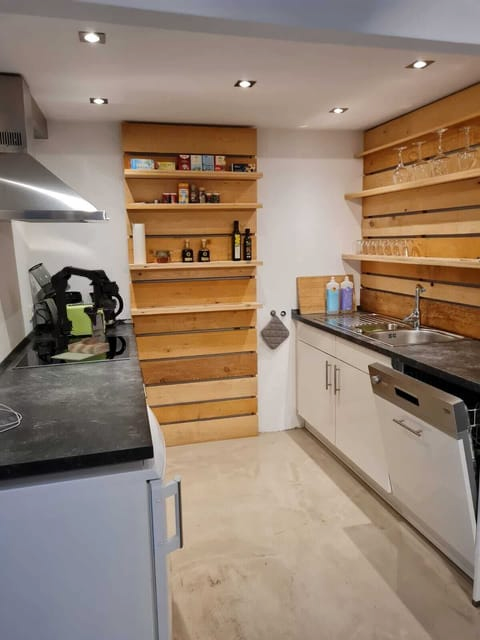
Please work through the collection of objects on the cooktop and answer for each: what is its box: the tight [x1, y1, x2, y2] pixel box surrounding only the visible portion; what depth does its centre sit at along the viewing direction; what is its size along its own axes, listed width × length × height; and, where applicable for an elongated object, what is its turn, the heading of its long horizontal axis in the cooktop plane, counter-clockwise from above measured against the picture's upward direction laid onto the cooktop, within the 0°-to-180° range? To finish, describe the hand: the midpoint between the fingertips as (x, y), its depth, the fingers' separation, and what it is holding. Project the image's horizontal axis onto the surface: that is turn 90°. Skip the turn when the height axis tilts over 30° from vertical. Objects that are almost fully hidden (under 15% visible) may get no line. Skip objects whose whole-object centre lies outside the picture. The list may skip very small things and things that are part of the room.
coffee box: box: [90, 311, 106, 343], centre depth 277 cm, size 9×6×16 cm
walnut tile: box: [81, 337, 100, 345], centre depth 250 cm, size 7×5×2 cm
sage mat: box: [50, 351, 96, 361], centre depth 239 cm, size 18×11×1 cm, turn 66°
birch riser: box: [67, 340, 110, 356], centre depth 249 cm, size 18×10×4 cm, turn 66°
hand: (101, 324), depth 249 cm, fingers open, 9 cm apart
